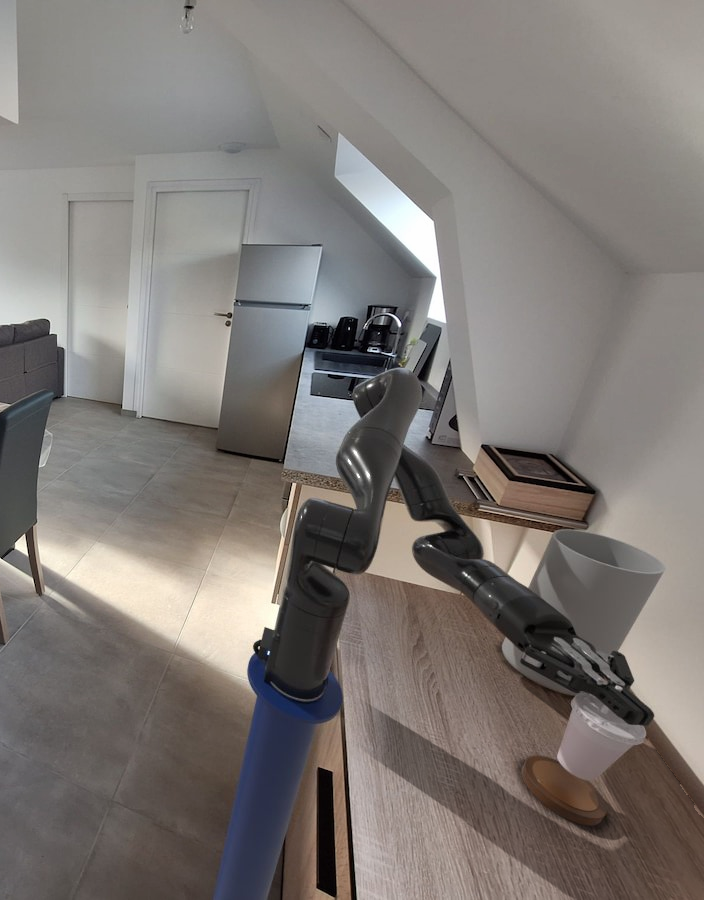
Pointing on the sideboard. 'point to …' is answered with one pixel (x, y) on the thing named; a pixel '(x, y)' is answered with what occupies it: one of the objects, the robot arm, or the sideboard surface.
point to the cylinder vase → (591, 591)
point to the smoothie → (595, 738)
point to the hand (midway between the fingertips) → (642, 720)
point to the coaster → (563, 791)
